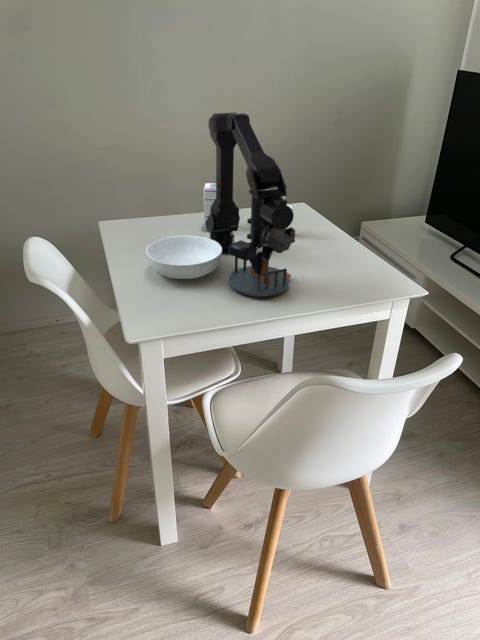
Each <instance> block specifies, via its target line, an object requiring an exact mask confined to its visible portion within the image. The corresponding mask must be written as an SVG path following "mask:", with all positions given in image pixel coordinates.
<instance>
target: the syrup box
mask: <svg viewBox="0 0 480 640" xmlns="http://www.w3.org/2000/svg"><path fill="white" fill-rule="evenodd" d="M202 190H203V220H204V222H203V224H204V226H203V227H204V231H205V232H208V231H207V230H206V226H205V222H206V220H207V218H208V217H209V215H210V210H211V205H212V204H213V202H214V201H215V199H216V182H207V183H204V185H203V189H202Z"/></svg>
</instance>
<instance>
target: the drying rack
mask: <svg viewBox="0 0 480 640" xmlns="http://www.w3.org/2000/svg"><path fill="white" fill-rule="evenodd" d="M239 259H240V258H237V257H235V256H234V270H233V271H232V272H231V273H230V275H229V285H230V286H231V287H232V288H233V289H234V291H235V290H236V291H237V292H239V293H240V292H242V293H245V294H249V295H255V296H269V295H275V294H277V295H279V294H281V293H283V292H285V291H286V290H287V289H288V288H289V287H290V281H291V279H290V278H291V276H292V275H291V274H290V273H289V272H287V271H288V269H287V268H281V269H279V268H276V267H273V266H269V263H270V260H268V259H266V258H265V257H262V259H261V268H260V273H259V274H256V273H255V271H254V269H253V267H252V265H251V264H250V265H247V260H242V263H243V264H242V267H239V268H238V265H239ZM242 293H241V294H242ZM278 293H279V294H278ZM275 296H276V295H275Z"/></svg>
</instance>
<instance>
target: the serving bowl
mask: <svg viewBox="0 0 480 640" xmlns="http://www.w3.org/2000/svg"><path fill="white" fill-rule="evenodd" d="M145 254H146V259H147V261H148V264H149V266H150V267H151V268H152V269H153V270H154V271H155V272H156V273H158V274H160V275H161V276H164V277H166V278H170V279H177V280H190V279H197V278H200V277H203V276H206V275H208V274H210V273H212V272H213V271H214V270H215V269H216V268H217V266H218V265H219V264H220V262H221V259H222V255H223V253H222V247H221V245H220V244H219V243H217V242H216V241H214V240H212V239H210V238H208V237H204V236H199V235H190V234H189V235H183V234H182V235H173V236H166V237H162V238H159V239H157V240H154V241H153V242H151V243H150V244H148V245H147V247H146V249H145Z"/></svg>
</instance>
